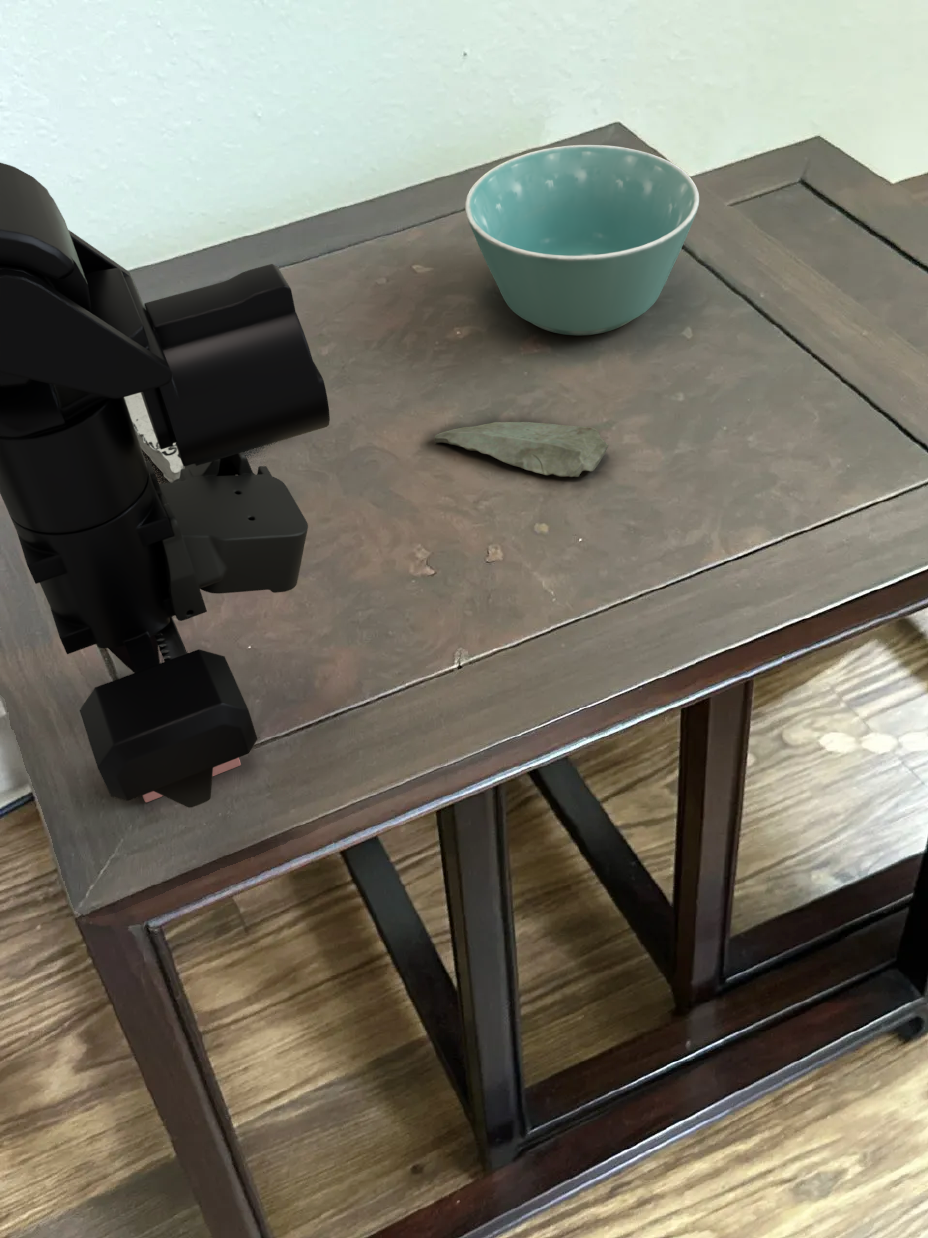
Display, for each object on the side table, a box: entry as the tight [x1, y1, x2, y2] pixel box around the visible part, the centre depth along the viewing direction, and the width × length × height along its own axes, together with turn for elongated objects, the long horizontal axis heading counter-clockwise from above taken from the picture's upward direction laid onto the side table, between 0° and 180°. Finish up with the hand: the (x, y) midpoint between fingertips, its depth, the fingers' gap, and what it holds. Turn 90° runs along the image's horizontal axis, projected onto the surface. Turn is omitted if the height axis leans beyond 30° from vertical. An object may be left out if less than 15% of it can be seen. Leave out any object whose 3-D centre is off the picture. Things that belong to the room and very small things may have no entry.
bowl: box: [464, 144, 700, 336], centre depth 88 cm, size 16×16×8 cm
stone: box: [434, 421, 610, 478], centre depth 80 cm, size 11×2×5 cm
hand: (173, 734), depth 62 cm, fingers open, 9 cm apart
